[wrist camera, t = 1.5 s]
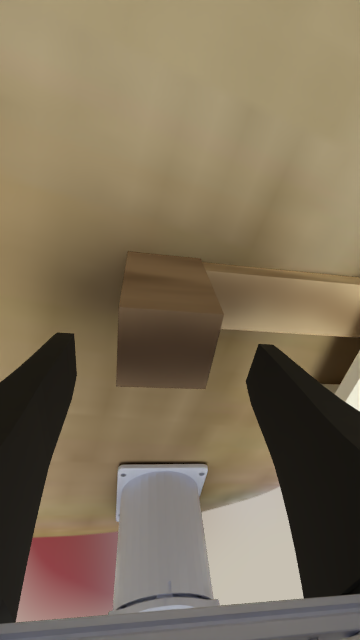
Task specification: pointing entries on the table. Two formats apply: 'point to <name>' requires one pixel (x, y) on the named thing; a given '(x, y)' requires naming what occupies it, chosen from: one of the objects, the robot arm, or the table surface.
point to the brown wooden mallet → (217, 313)
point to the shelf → (349, 385)
